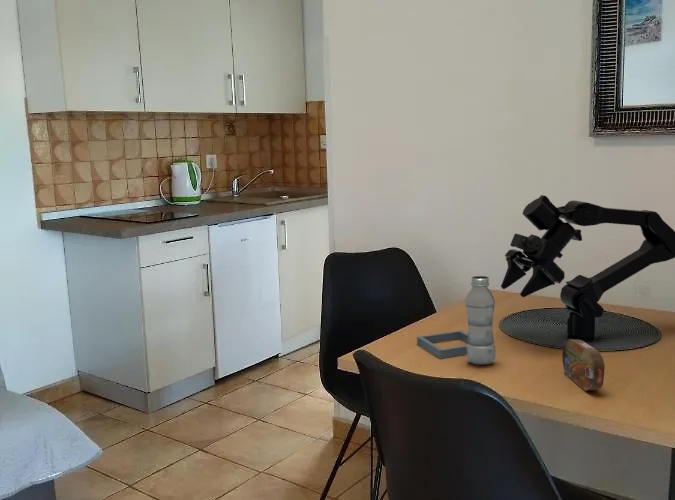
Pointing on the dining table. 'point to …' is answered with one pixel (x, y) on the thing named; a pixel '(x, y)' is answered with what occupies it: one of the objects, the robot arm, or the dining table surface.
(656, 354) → the dining table surface
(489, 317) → the plastic bottle
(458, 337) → the frame
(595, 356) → the tin
